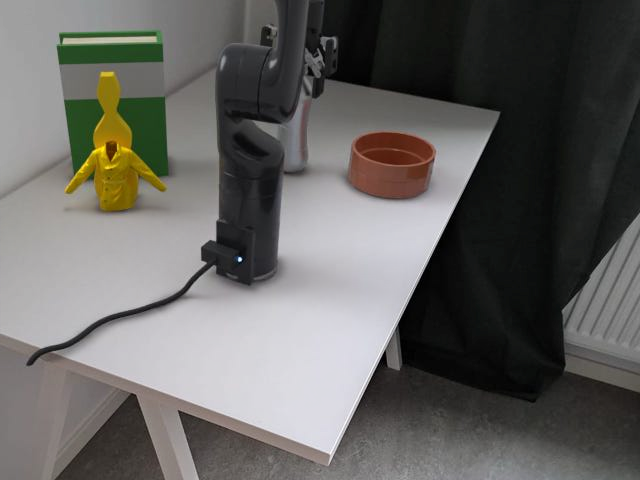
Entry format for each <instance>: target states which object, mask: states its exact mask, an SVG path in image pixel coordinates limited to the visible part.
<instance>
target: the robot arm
mask: <svg viewBox="0 0 640 480" xmlns="http://www.w3.org/2000/svg"><path fill="white" fill-rule="evenodd" d="M272 2H273V6H274V9H275V15H276V16H275V17H276V26H275V25H274V23H271V22H270V23H268V24H267V25H265V26H262V28H261V29H260V30H261V31H260V41H259V44H251V43H250V44H249V43H243V42H232V43H228V44H227V45H226V46H225V47H224V48H223V49H222V51H221V53H220V55H219V57H218V60H217V64H216V70H215V80H214V81H215V82H214V99H215V117H216V147H217V151H218V218H217V220H216V221H215V240H212V239H209V240H207V241H206V242H205V243H204V244H203V245H202V246H201V247H200V262H203V263H205V264H204V265H203V266H202V267H200V268H199V270H197V271H196V272H195V273H194V274H193V275H192V276H191V277H190V278H189V279H188V280H187V282H186V283H185V285H184V286H183V287H182V288H181V289H179V290H178V291H177V292H175V293H174V294H172V295H171V296H170V295H169V296H168V297H166V298H163V299H161V300H158V301H155V302H152V303H148V304H145V305H143V306H139V307H136V308H131V309H128V310H124V311H119V312H116V313H113V314H108V315H107V316H104V317H102V318H100V319H98V320H96V321H94V322H92V323H91V324H90V325H88V326H87V327H86V328H85V329H83V330H82V331H81V332H80V333H78V334H77V335H75V336H74V337H72V338H70V339H69V340H67V341H65V342H61V343H56V344H53V345H52V344H51V345H48V346H43V347H42V348H39V349H37V350H36V351H35V352H34V353H33V354H32V355H31V356H30V357H29V358H28V360H27V361H26V363H25V366H26V367H30V366H33V365H34V364H35V362H36V361H37V360H38V359H39V358H40V357H42V356H45V355H46V354H49V353H54V352H57V351H58V352H59V351H62V350H65V349H69V348H71V347H72V346H75V345H76V344H78V343H80V342H81V341H82V340H83V339H86V337H87V336H89V335H90V334H91V333H92V332H94V331H95V330H96V329H98V328H100V327H102V326H103V325H105V324H107V323H110V322H112V321H113V322H114V321H115V320H119V319H123V318H127V317H131V316H135V315H139V314H142V313H146V312H148V311H152V310H154V309H157V308H160V307H161V308H162V307H164V306H166V305H169V304H171V303H173V302H175V301H177V300H178V299H180V298H181V297H183V296H184V295H185V294H187V293H188V292H189V290H190V289H191V287H192V286H193V285H194V284H195V283H196V282H197V281H198V280H199V279H200V278H201V277H202V276H203V275H204V274H205V273H206V272H208V271H209V270H210V269H211V268H213V266H214V267H215V274H216V275H218V276H221V277H223V278H226V279H228V280H232V281H234V282H237V283H240V284H243V285H246V286H248V287H249V286H252V285H253V284H254V283H260V282H264V281H266V280H268V279H270V278H272V277H273V276H274V275H275V274H276V273H277V271H278V267H279V260H278V257H279V242H280V240H279V239H280V227H281V226H280V225H281V214H282V200H283V199H282V198H283V197H282V196H283V186H284V184H283V183H284V172H285V171H284V159H285V151H284V147H283V145H282V144H281V142H280V141H279V140H277V137H275V136H273V135H272V134H270V133H268V132H267V131H265V130H263V128H261V127H259V126H258V124H256V122H260V123H266V124H267V123H268V124H274V125H278V124H287V123H288V122H290V121H291V119H292V118H293V116H294V114H295V112H296V109H297V106H298V102H299V98H300V93H301V87H302V78H303V69H304V61H306V62H307V64H308V68H310V69H311V71H312V73H313V75H314V76H313V78H312V86H311V87H312V99H314V100H316V99H318V98H319V97H321V95H323V93H324V90H325V81H326V77H330V76H331V75H333V74H334V73H336V72H337V70H338V56H339V37H338V36H337V35H334V36H332V37H329V36H323V33H322V32H323V31H322V28H323V23H324V14H325V13H324V12H325V3H326V1H325V0H272ZM275 38H276V47H273V44H274V40H275ZM320 46H322V50H323V51H324V60H323V55H322V53H321V51H320V49H319V48H320Z"/></svg>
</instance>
